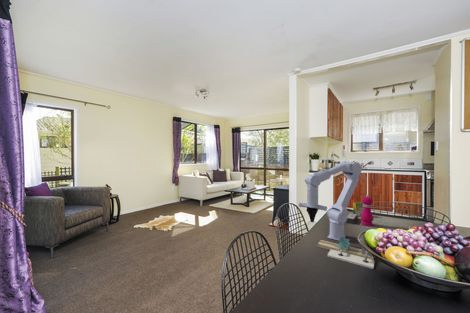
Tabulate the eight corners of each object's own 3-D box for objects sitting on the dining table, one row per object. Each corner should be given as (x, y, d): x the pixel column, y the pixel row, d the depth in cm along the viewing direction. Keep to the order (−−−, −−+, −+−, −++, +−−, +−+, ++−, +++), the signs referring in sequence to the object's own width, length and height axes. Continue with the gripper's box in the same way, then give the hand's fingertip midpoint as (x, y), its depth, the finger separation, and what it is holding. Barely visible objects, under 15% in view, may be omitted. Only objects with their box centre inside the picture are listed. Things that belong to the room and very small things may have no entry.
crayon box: (361, 214, 165) (361, 199, 164) (364, 215, 162) (364, 200, 162) (352, 215, 164) (353, 200, 163) (355, 216, 161) (355, 201, 160)
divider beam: (320, 242, 115) (320, 233, 115) (374, 255, 101) (374, 244, 100) (314, 250, 106) (314, 240, 106) (372, 265, 92) (372, 254, 92)
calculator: (357, 214, 155) (354, 218, 143) (357, 220, 155) (354, 224, 143) (341, 211, 162) (336, 215, 150) (341, 217, 162) (336, 221, 150)
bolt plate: (330, 250, 105) (330, 249, 105) (374, 262, 95) (374, 260, 95) (327, 256, 100) (327, 254, 100) (373, 269, 89) (373, 267, 89)
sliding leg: (340, 245, 109) (340, 237, 108) (349, 247, 106) (349, 239, 106) (336, 253, 100) (336, 244, 100) (345, 255, 98) (346, 247, 98)
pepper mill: (358, 223, 144) (358, 194, 144) (365, 222, 147) (365, 193, 147) (368, 227, 138) (369, 196, 137) (375, 225, 141) (376, 195, 140)
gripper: (296, 196, 118) (296, 221, 118) (324, 200, 109) (324, 226, 110) (301, 194, 123) (301, 217, 124) (328, 197, 115) (327, 222, 115)
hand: (312, 221), depth 117 cm, fingers closed
